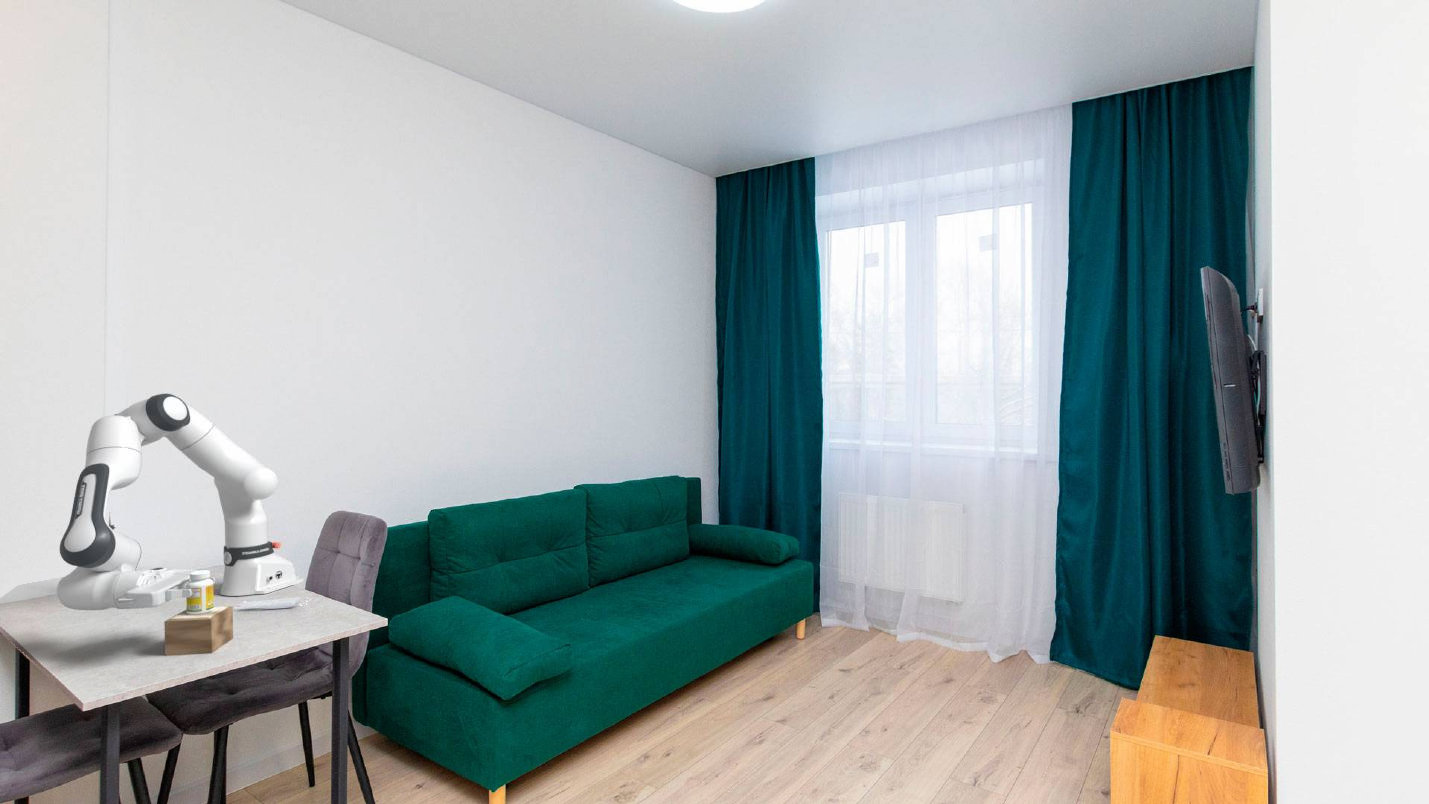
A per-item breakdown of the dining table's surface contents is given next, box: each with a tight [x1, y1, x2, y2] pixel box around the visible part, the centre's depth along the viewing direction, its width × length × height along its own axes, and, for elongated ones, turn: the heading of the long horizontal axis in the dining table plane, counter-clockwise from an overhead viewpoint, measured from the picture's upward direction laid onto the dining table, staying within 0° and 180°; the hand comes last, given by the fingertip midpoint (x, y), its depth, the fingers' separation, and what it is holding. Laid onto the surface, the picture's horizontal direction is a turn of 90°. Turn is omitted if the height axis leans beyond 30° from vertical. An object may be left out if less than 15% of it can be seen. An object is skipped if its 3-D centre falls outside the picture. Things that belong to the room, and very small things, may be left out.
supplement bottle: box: [186, 569, 215, 615], centre depth 177 cm, size 5×5×10 cm
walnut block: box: [163, 605, 234, 656], centre depth 177 cm, size 10×10×8 cm
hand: (203, 586), depth 177 cm, fingers open, 8 cm apart
